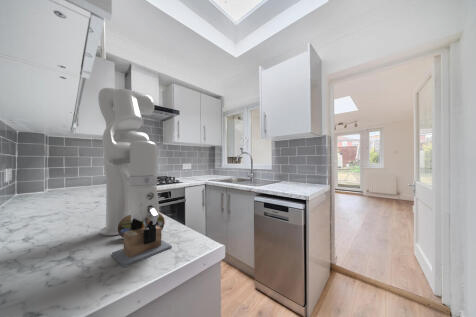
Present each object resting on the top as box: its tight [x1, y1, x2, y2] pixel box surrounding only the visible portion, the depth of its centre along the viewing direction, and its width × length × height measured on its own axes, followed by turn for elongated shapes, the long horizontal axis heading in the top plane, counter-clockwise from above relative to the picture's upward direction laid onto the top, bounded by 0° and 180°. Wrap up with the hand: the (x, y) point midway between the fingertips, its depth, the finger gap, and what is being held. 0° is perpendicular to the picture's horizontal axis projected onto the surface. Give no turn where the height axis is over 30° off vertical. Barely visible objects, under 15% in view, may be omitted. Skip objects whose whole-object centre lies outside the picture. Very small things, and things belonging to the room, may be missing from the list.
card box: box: [122, 226, 162, 257], centre depth 51 cm, size 9×4×6 cm, turn 139°
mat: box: [111, 239, 172, 268], centre depth 51 cm, size 10×13×1 cm
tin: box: [118, 212, 166, 239], centre depth 62 cm, size 15×3×8 cm, turn 105°
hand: (142, 238), depth 51 cm, fingers open, 9 cm apart
